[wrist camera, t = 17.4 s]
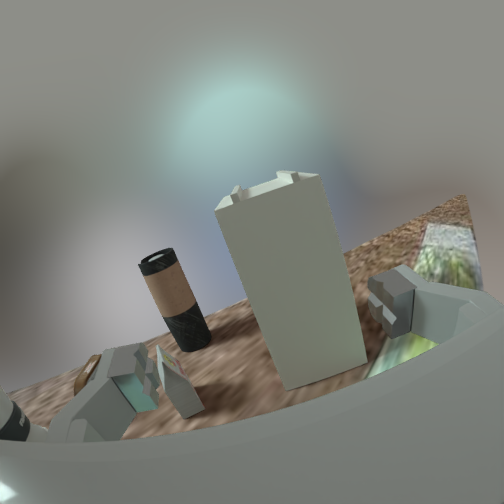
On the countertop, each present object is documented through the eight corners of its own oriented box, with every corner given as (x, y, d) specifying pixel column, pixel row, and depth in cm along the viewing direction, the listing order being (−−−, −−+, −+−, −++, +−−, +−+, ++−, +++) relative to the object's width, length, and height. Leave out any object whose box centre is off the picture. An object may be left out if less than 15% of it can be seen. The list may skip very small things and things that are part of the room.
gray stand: (367, 362, 39) (316, 165, 32) (285, 391, 40) (210, 202, 33) (338, 312, 54) (293, 166, 47) (276, 334, 55) (221, 191, 48)
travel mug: (219, 334, 63) (180, 245, 57) (194, 356, 57) (148, 263, 52) (197, 330, 68) (160, 249, 63) (173, 349, 63) (131, 265, 57)
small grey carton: (183, 419, 40) (150, 369, 38) (174, 396, 46) (145, 349, 44) (205, 408, 41) (174, 358, 39) (193, 387, 47) (166, 339, 45)
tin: (114, 379, 57) (94, 347, 55) (126, 376, 57) (106, 344, 55) (92, 427, 42) (65, 391, 40) (105, 425, 42) (77, 389, 40)
